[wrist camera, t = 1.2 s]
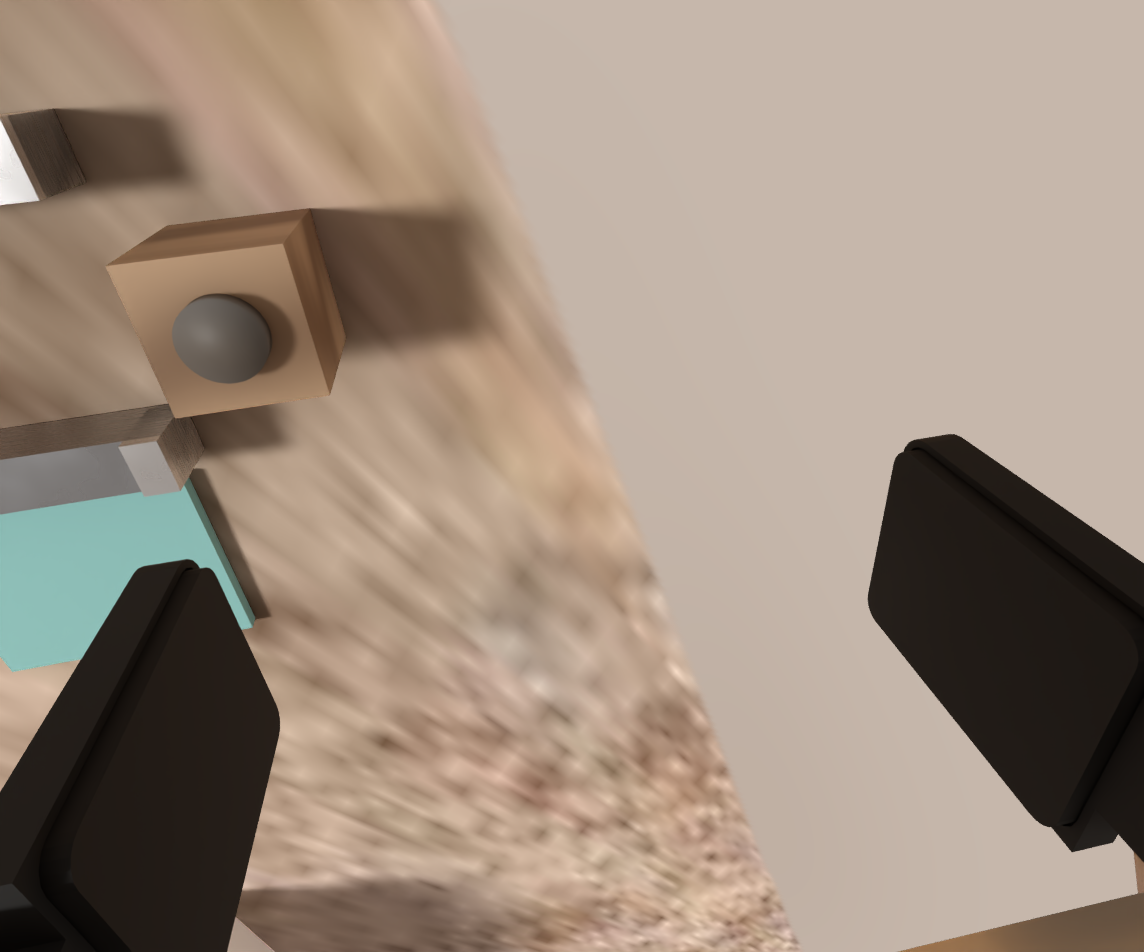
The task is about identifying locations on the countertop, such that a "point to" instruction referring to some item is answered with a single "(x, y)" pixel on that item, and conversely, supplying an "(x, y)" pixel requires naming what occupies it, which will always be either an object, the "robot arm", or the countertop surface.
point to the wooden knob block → (234, 311)
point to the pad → (94, 568)
